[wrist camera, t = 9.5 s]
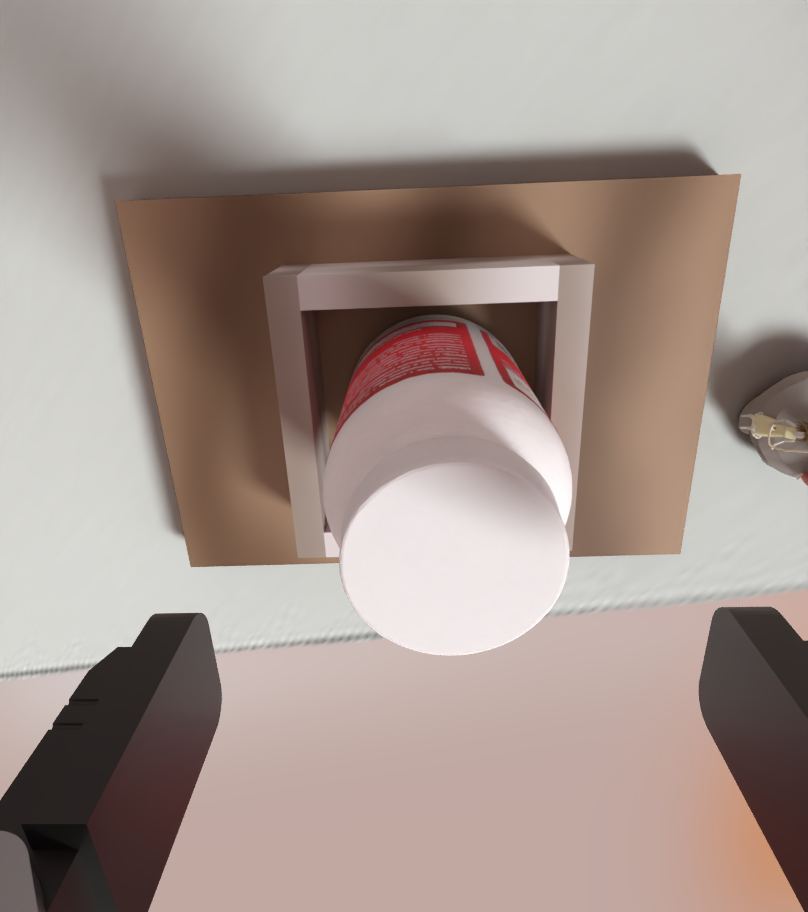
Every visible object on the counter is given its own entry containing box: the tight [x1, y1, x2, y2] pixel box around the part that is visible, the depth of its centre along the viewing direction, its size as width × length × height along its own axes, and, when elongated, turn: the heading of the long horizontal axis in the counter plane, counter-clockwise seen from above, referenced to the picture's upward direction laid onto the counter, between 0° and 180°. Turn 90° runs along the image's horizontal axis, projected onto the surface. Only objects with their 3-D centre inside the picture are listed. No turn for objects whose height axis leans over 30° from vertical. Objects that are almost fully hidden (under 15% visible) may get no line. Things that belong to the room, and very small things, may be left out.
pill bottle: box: [323, 315, 572, 655], centre depth 17 cm, size 6×6×11 cm
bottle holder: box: [115, 174, 741, 567], centre depth 22 cm, size 20×14×4 cm
